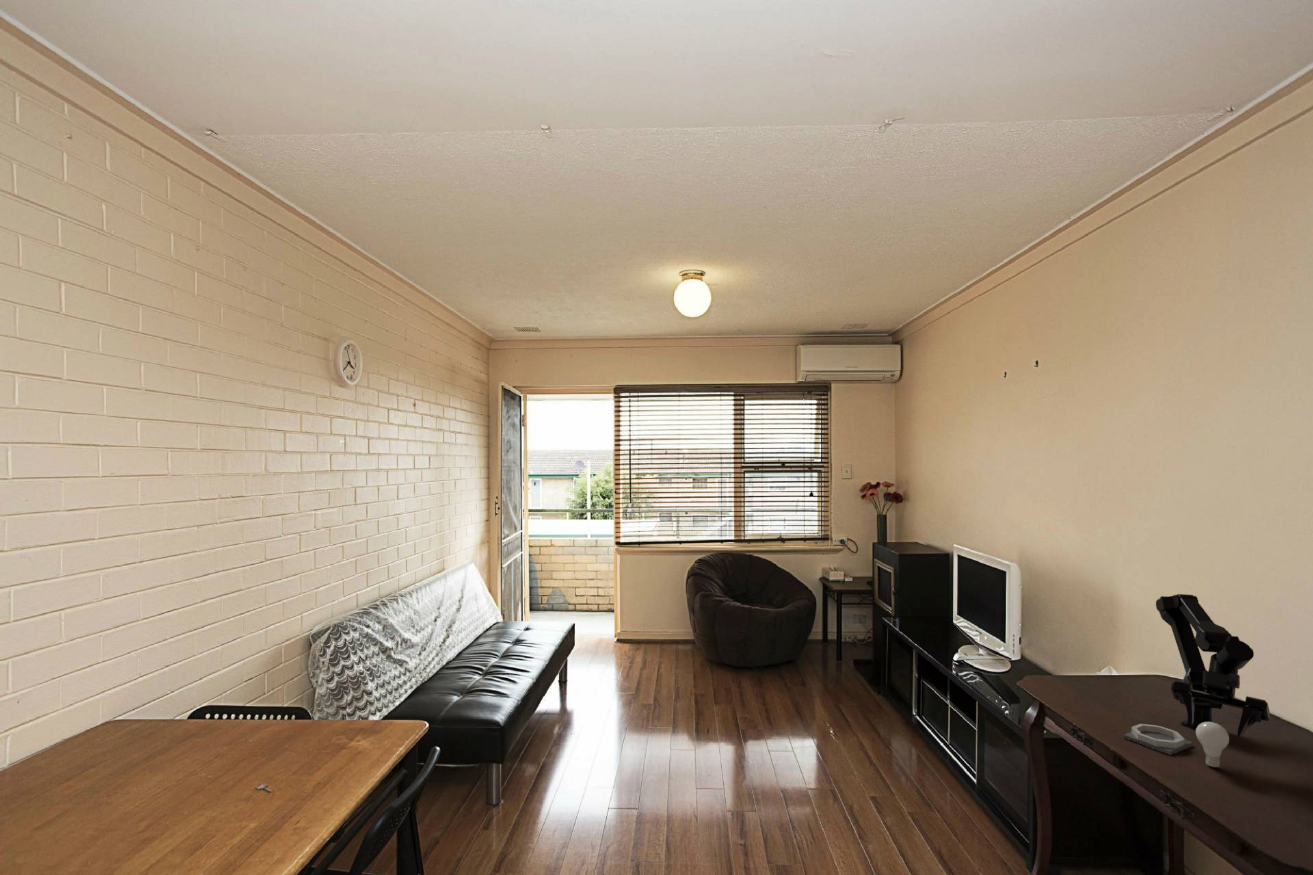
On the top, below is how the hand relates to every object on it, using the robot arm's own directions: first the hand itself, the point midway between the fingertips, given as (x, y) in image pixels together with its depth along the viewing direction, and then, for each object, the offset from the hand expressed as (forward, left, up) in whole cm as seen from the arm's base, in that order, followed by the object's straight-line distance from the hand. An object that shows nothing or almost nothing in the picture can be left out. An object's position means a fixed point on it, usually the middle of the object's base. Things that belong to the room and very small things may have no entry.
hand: (1214, 730), depth 165 cm
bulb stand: (-2, -13, -9) cm, 16 cm away
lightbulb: (+1, 0, -9) cm, 9 cm away
